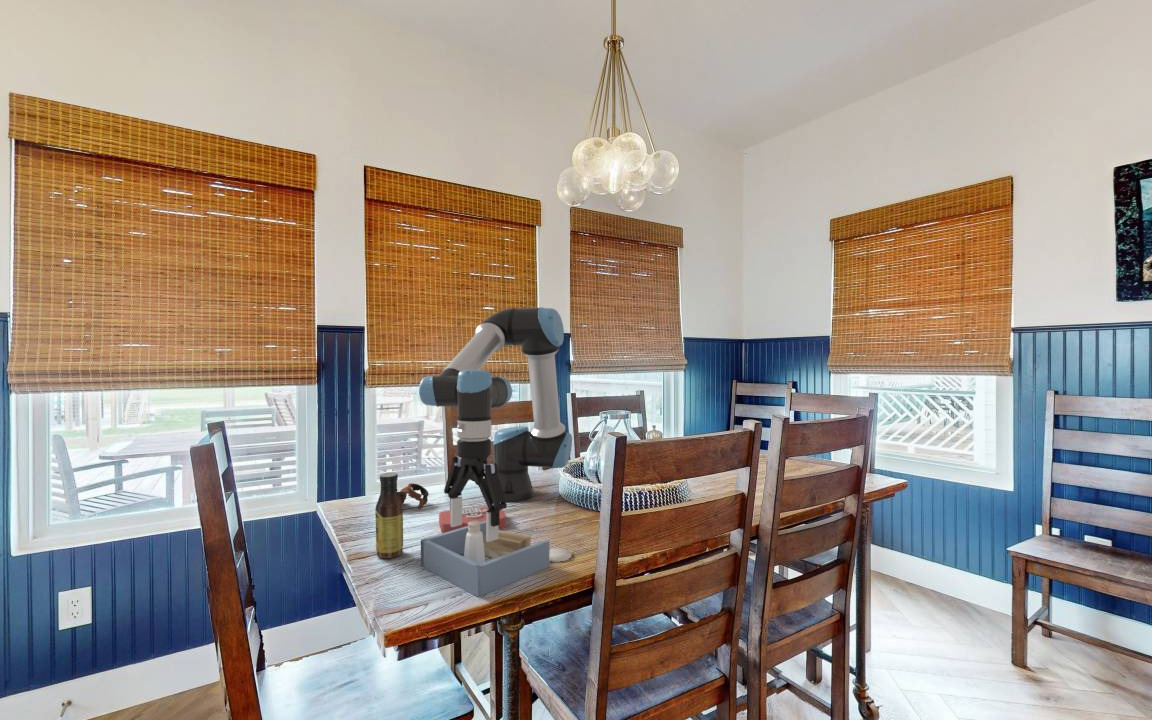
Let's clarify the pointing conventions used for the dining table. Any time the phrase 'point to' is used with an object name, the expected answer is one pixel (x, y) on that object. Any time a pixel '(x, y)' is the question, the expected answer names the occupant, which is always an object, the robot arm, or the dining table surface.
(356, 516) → the dining table surface
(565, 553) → the stone coaster
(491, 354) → the robot arm
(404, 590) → the dining table surface
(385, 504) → the sauce bottle
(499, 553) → the birch offcut
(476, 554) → the pepper shaker
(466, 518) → the plaque
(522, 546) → the oak offcut
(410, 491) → the coiled leather belt
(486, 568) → the tray
